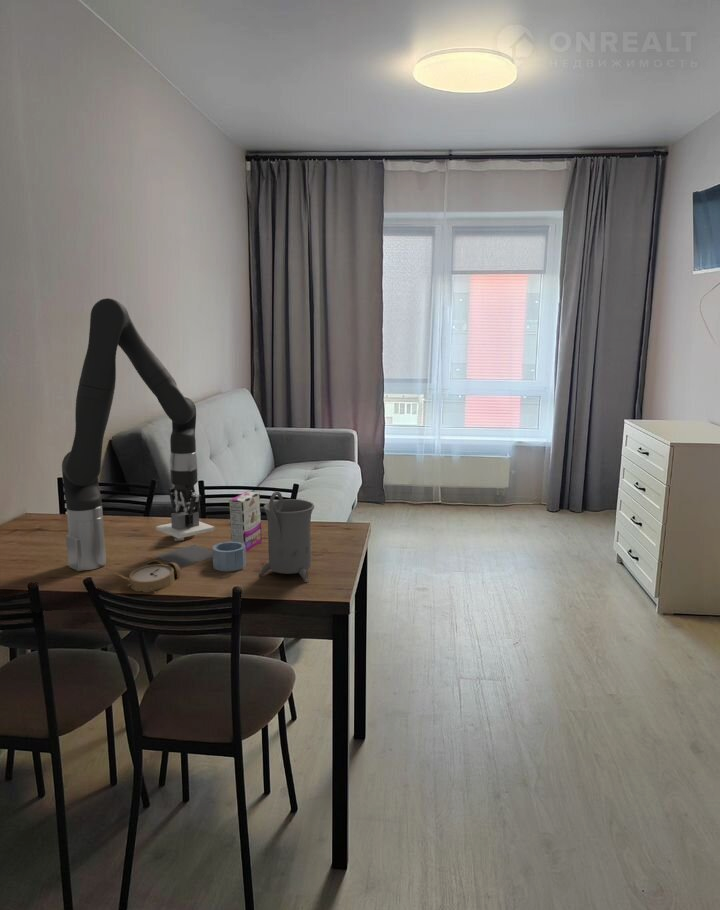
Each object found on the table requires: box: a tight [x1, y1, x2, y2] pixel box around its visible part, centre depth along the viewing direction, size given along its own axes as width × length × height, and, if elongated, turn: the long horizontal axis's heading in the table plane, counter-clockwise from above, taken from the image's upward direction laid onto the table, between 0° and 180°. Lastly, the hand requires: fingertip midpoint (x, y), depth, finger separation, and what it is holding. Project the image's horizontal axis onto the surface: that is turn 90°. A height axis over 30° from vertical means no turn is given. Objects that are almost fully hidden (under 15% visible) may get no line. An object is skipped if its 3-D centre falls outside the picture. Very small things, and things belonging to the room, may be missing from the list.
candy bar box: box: [228, 491, 263, 553], centre depth 207 cm, size 11×5×16 cm, turn 161°
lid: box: [155, 511, 216, 538], centre depth 197 cm, size 12×12×5 cm
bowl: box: [211, 540, 247, 573], centre depth 191 cm, size 9×9×6 cm
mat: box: [154, 544, 213, 568], centre depth 200 cm, size 14×14×1 cm
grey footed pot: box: [258, 490, 315, 583], centre depth 183 cm, size 19×15×25 cm
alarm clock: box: [126, 559, 182, 593], centre depth 180 cm, size 11×5×15 cm
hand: (185, 524), depth 197 cm, fingers closed on lid, 3 cm apart
